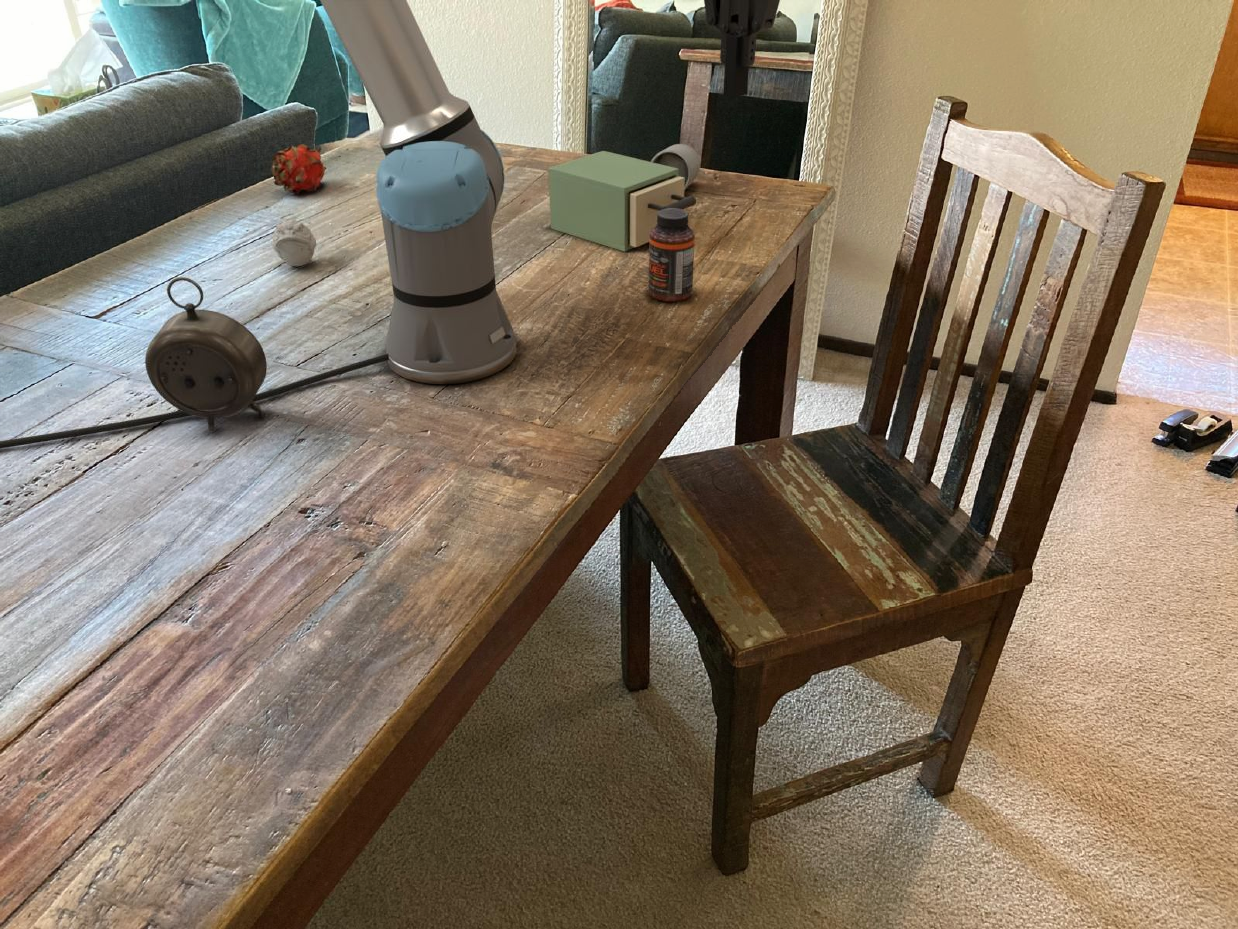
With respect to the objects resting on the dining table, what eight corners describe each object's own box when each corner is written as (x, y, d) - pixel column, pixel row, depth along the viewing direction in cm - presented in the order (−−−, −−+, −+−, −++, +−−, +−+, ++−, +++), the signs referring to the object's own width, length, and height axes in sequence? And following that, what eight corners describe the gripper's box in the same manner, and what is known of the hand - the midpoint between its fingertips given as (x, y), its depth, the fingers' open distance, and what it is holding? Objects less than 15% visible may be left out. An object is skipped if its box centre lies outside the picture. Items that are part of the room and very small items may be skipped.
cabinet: (677, 229, 146) (678, 168, 141) (624, 251, 139) (624, 187, 133) (604, 208, 155) (603, 150, 150) (550, 228, 147) (548, 167, 142)
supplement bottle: (639, 294, 125) (639, 212, 119) (668, 282, 129) (670, 201, 123) (671, 307, 122) (674, 223, 116) (701, 294, 125) (705, 212, 119)
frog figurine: (274, 276, 131) (263, 228, 127) (279, 258, 137) (269, 212, 133) (318, 273, 132) (309, 225, 128) (322, 255, 138) (313, 209, 134)
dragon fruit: (278, 209, 160) (320, 199, 170) (309, 183, 156) (350, 174, 166) (249, 165, 159) (293, 157, 169) (279, 138, 155) (322, 131, 165)
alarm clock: (280, 408, 100) (245, 266, 91) (264, 434, 96) (226, 288, 87) (179, 409, 100) (135, 267, 91) (158, 435, 96) (110, 289, 87)
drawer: (704, 233, 142) (707, 182, 138) (657, 254, 135) (658, 201, 131) (613, 207, 153) (613, 159, 148) (565, 225, 146) (563, 176, 141)
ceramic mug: (701, 184, 166) (703, 140, 161) (689, 197, 159) (690, 152, 155) (645, 179, 169) (645, 136, 164) (631, 193, 162) (630, 148, 158)
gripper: (824, -149, 93) (800, 97, 106) (720, -149, 101) (709, 82, 114) (783, -148, 89) (763, 109, 102) (677, -148, 96) (671, 92, 109)
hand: (735, 94), depth 108 cm, fingers closed
